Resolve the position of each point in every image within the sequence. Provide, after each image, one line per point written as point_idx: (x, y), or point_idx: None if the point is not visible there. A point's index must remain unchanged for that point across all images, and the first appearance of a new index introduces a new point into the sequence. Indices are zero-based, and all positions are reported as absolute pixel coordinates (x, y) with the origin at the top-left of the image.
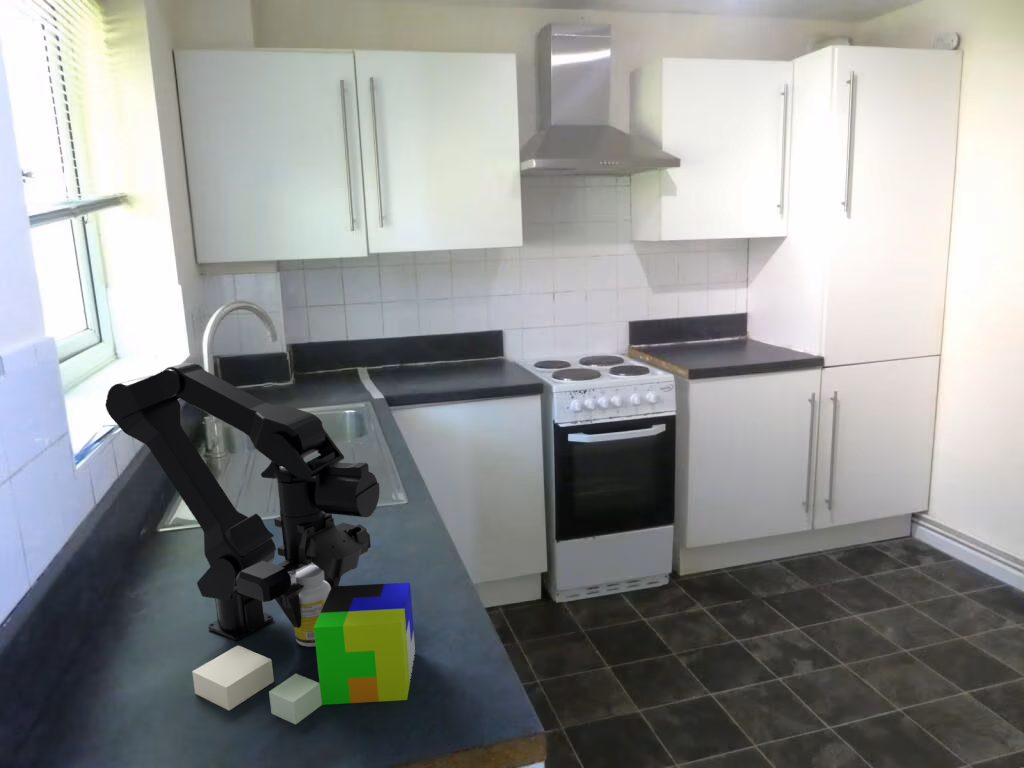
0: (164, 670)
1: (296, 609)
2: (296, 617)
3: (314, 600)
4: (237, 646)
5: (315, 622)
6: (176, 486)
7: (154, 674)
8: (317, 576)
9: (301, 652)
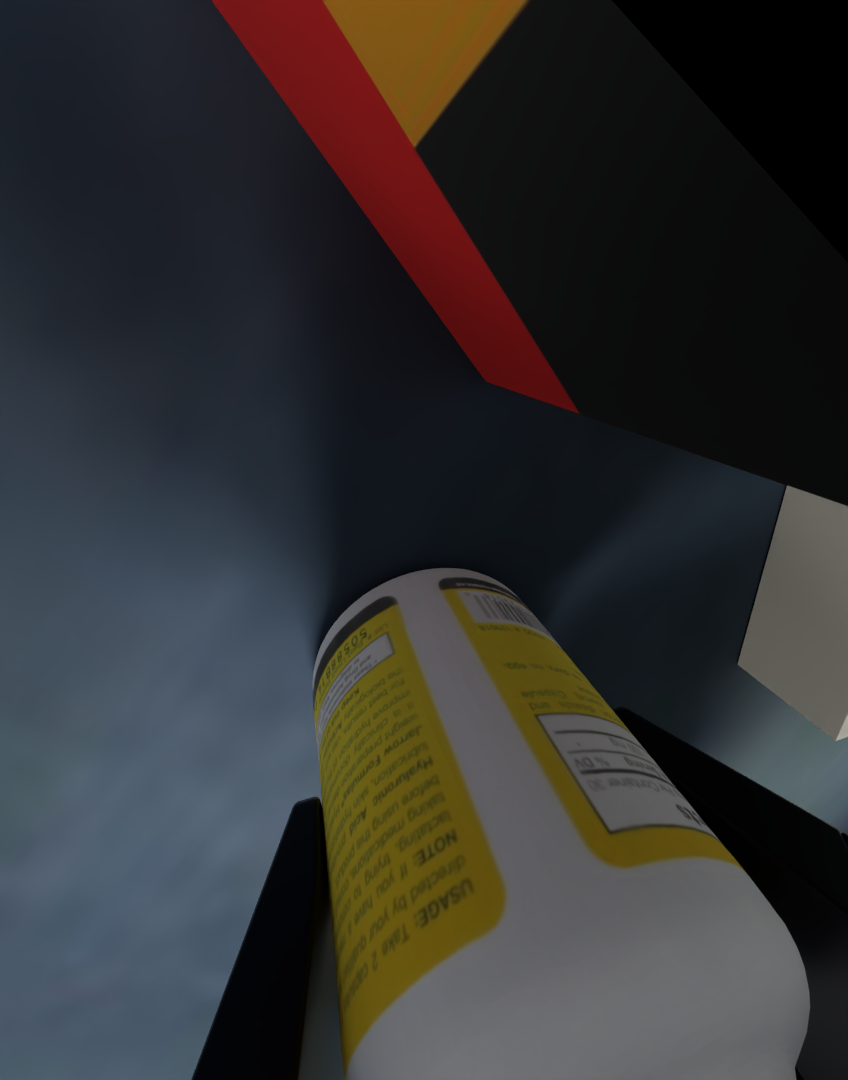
0: (806, 780)
1: (799, 834)
2: (718, 767)
3: (713, 886)
4: (843, 733)
5: (568, 676)
6: None
7: (827, 777)
8: None
9: (561, 586)
